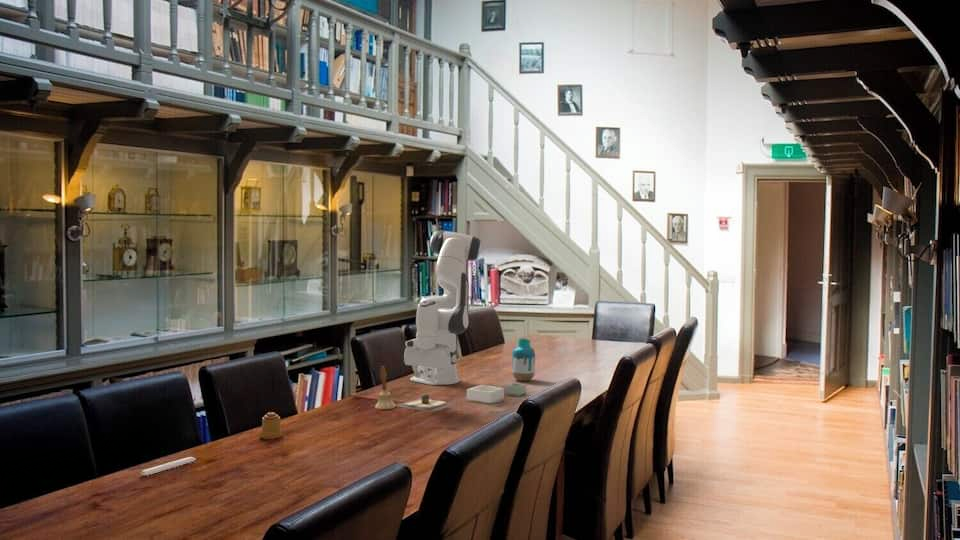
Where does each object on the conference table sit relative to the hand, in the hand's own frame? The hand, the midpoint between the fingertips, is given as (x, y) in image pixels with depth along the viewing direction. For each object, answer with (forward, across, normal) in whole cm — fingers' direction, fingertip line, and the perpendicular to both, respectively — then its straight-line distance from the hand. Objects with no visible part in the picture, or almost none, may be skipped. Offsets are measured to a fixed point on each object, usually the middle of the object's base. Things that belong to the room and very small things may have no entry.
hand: (427, 378), depth 315 cm
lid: (+11, +1, 0) cm, 11 cm away
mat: (+11, +1, 0) cm, 11 cm away
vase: (+11, -6, -68) cm, 69 cm away
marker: (+12, +15, +107) cm, 108 cm away
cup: (+11, -18, -40) cm, 45 cm away
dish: (+11, -13, -22) cm, 28 cm away
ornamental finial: (+12, +17, +66) cm, 69 cm away
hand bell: (+11, +12, +11) cm, 20 cm away
